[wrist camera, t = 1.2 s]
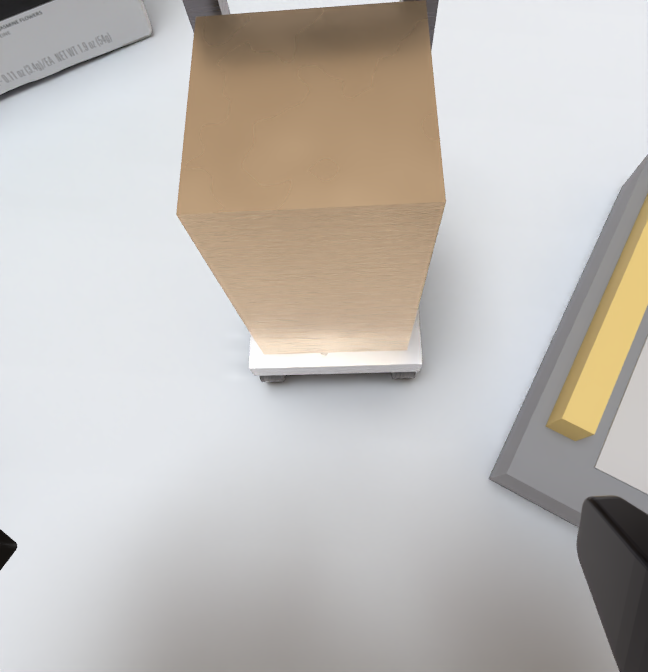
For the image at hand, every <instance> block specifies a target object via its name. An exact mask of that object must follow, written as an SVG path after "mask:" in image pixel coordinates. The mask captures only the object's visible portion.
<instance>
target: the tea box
mask: <svg viewBox="0 0 648 672" xmlns="http://www.w3.org/2000/svg"><path fill="white" fill-rule="evenodd" d="M151 33H152V27H151V23H150V20H149V17H148V14H147V11H146V8H145V6H144V3H143V0H0V95H1V94H3V93H5V92H7V91H9V90H11V89H14V88H16V87H19V86H21V85H24V84H26V83H29V82H32V81H36V80H39V79H41V78H44V77H47V76H49V75H51V74H54V73H56V72H59V71H61V70H63V69H65V68H67V67H70V66H73V65H75V64H77V63H80V62H83V61H86V60H89V59H91V58H93V57H96V56H99V55H101V54H104V53H107V52H109V51H112V50H114V49H117V48H120V47H123V46H126V45H129V44H131V43H134V42H137V41H139V40H142V39H144V38H147V37H149V36H151Z"/></svg>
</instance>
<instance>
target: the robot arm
mask: <svg viewBox="0 0 648 672" xmlns="http://www.w3.org/2000/svg"><path fill="white" fill-rule="evenodd" d="M577 553H578V557H579V561H580V564H581V567H582V569H583V572H584V575H585V578H586V580H587V583H588V586H589V589H590V592H591V594H592V597H593V600H594V603H595V605H596V608H597V611H598V614H599V617H600V619H601V622H602V625H603V628H604V630H605V633H606V636H607V639H608V642H609V644H610V647H611V650H612V653H613V655H614V658H615V661H616V663H617V666H618V668H619V671H620V672H648V514H647V513H645V512H644V511H642V510H640V509H639V508H637V507H636V506H634V505H632V504H631V503H629V502H628V501H626V500H625V499H623V498H621V497H619V496H614V495H606V496H590V497H587V498H586V499H585V500H584V502H583V504H582V509H581V516H580V523H579V530H578V536H577Z"/></svg>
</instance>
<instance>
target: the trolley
mask: <svg viewBox="0 0 648 672" xmlns="http://www.w3.org/2000/svg"><path fill="white" fill-rule="evenodd" d="M438 1H439V0H400V2H392V3H378V4H364V5H351V6H337V7H323V8H310V9H296V10H282V11H269V12H255V13H241V14H230V11H229V7H228V3H227V0H183V3H184V6H185V9H186V12H187V15H188V17H189V20H190V23H191V26H192V29H193V32H194V40H193V50H192V61H191V71H190V81H189V91H188V101H187V112H186V122H185V132H184V142H183V152H182V163H181V173H180V183H179V193H178V203H177V214H176V215H177V216H178V218H179V220H180V221H181V223H182V225H183V226H184V228H185V229H186V231H187V233H188V234H189V236H190V237H191V239H192V241H193V242H194V244H195V245H196V247H197V249H198V250H199V252H200V253H201V255H202V257H203V258H204V260H205V261H206V263H207V265H208V266H209V268H210V269H211V271H212V273H213V274H214V276H215V277H216V279H217V281H218V282H219V284H220V285H221V287H222V289H223V290H224V292H225V293H226V295H227V297H228V298H229V300H230V301H231V303H232V305H233V306H234V308H235V309H236V311H237V313H238V314H239V316H240V317H241V319H242V321H243V322H244V324H245V325H246V327H247V329H248V330H249V332H250V357H249V369H250V370H251V372H252V373H253V374H254V376H260V379H261V381H262V382H275V381H284V380H285V375H305V374H343V373H381V372H392V378H415V373H416V372H419V371H420V369H421V367H422V364H423V362H422V349H421V335H420V321H419V307H418V306H419V302H420V299H421V295H422V291H423V287H424V283H425V279H426V276H427V272H428V268H429V264H430V260H431V257H432V253H433V249H434V245H435V241H436V237H437V234H438V230H439V226H440V222H441V218H442V215H443V211H444V207H445V203H446V199H445V189H444V178H443V168H442V158H441V148H440V138H439V128H438V117H437V107H436V97H435V87H434V77H433V67H432V56H431V49H432V42H433V35H434V28H435V21H436V15H437V8H438Z"/></svg>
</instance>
